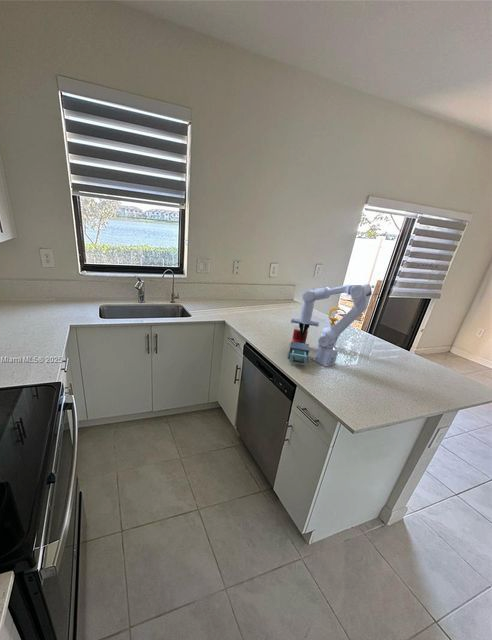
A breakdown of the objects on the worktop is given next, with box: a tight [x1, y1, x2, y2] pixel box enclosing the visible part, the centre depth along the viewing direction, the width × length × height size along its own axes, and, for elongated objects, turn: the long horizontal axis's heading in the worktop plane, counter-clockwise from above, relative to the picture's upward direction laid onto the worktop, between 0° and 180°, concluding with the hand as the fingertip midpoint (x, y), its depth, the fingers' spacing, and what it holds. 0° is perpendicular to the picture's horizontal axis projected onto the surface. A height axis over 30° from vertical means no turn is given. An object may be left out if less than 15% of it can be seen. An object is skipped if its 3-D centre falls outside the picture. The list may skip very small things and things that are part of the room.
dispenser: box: [287, 340, 310, 360], centre depth 156 cm, size 10×10×7 cm
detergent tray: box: [288, 349, 309, 366], centre depth 148 cm, size 13×8×5 cm, turn 165°
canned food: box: [291, 325, 309, 344], centre depth 170 cm, size 8×8×11 cm
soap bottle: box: [320, 306, 341, 350], centre depth 169 cm, size 9×9×25 cm
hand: (301, 336), depth 159 cm, fingers closed
